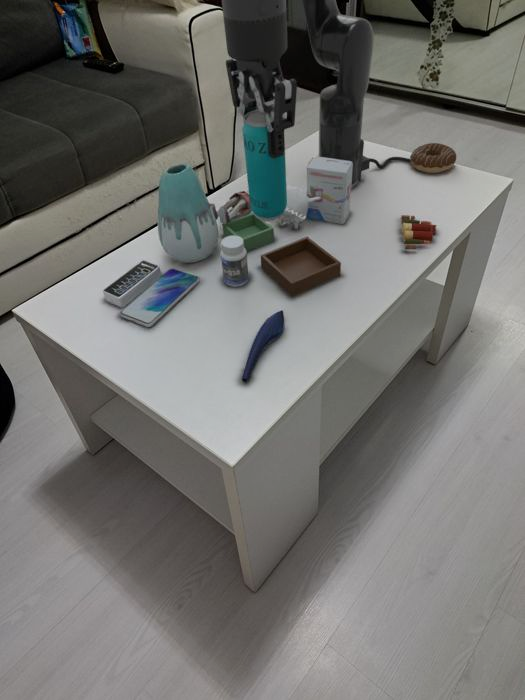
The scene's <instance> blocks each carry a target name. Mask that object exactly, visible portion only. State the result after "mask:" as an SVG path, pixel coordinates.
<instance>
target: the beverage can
mask: <svg viewBox="0 0 525 700" xmlns="http://www.w3.org/2000/svg"><path fill="white" fill-rule="evenodd" d="M271 116H272V119H273V121H274V111H271ZM242 119H243V125H242V129H241V131H242V140H243V148H244V159H245V168H246V177H247V189H248V190H249V198H250V206H251V208H250V210H251V211H253V213H254V215H255V216H256V217H257V218H258V219H260V220H262V221H265V222H274V221H276V220H280V219H279V218H280V217H281V216H282V215H283V214H284V211H285V209H286V206H287V189H286V187H287V171H286V170H287V168H286V152H285V153H284V155H283V156H280V157H277V158H274V159H273V158H271V157H270V156H269V151H268V137H267V131H268V129H267V126H266V122H265V118H264V115H262V114H260V112H259V109H258V110H254V111H251V112H249V113H247V114H246V115H245V116H244V118H243V117H242ZM284 143H285V142H284ZM285 145H286V143H285ZM285 145H284V146H285ZM285 147H286V146H285Z"/></svg>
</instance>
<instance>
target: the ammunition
mask: <svg viewBox="0 0 525 700" xmlns="http://www.w3.org/2000/svg"><path fill="white" fill-rule="evenodd" d="M400 220H401V233H402V241H403V244H404V249H405V250H417V249H418V245H428V244H429V245H430V244H431V243H432V241H433V238H434V235H435V234H436V231H437V224H433V223H432V222H431V221H428V220H418V219H416V216H415V215H411V216H410V215H406V214H401V216H400Z"/></svg>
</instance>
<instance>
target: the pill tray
mask: <svg viewBox="0 0 525 700" xmlns="http://www.w3.org/2000/svg"><path fill="white" fill-rule="evenodd" d="M221 225H222V234H223V237H224V238H225V237H227V236H239V237H241V238H242V239H243V241H244V248H245V249H246V252H247V253H248V252H249V251H252V250H255V249H257V248H260V247H262V246H265V245H268V244H271V243H272V242H275V229H274V227H273V226H271V224H270V223H268V221H262V220H260V219H258V218H257V217H256V216H255V215H254V213H251V214H249V213H248V214H246V215H243V216H240V217H238V218H236V219H231V220H230V222H229V223H227V224H223V223H221Z"/></svg>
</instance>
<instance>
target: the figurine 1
mask: <svg viewBox="0 0 525 700" xmlns="http://www.w3.org/2000/svg"><path fill="white" fill-rule="evenodd" d="M209 204H210V206H211V208H212V210H213V213H214V216H215V219H216V221H217V220H218V218H219V222H220V223H221V224H227V223H229V222H230V221H232V220H233V218H235V217H237V215H238V214H241V215H242V214H244V213H245V212H247V211H249V212H248V214H251V213H253V211H252V210H251V206H250V198H249V189H248V190H240V191H238V192H234V194H232V195H231V196H230V197H229V200H228V201H227V202H225V204H223V205H221V206H220V207H219V208H218V209H217V208H216V205H215V203H211V202H209ZM250 210H251V211H250Z"/></svg>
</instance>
